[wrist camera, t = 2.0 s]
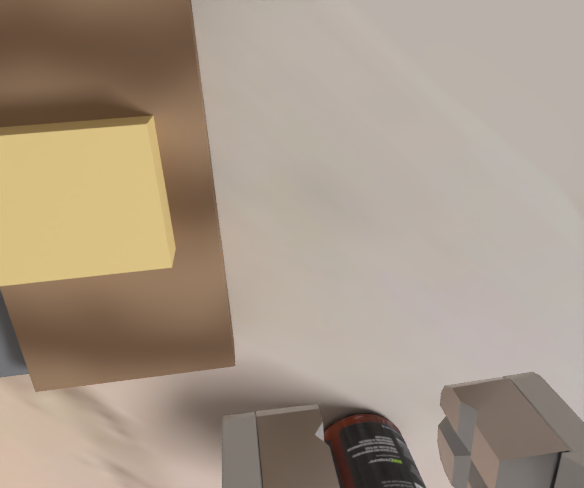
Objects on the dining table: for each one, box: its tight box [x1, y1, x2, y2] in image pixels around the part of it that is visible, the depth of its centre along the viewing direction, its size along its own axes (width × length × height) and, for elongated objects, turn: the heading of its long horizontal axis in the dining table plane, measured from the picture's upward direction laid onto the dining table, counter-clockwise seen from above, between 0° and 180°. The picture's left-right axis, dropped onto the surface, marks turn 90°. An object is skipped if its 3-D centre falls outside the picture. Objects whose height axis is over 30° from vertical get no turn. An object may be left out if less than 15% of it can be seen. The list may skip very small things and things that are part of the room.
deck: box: [0, 0, 235, 392], centre depth 22 cm, size 20×10×2 cm, turn 3°
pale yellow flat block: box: [0, 115, 176, 286], centre depth 20 cm, size 6×7×2 cm
